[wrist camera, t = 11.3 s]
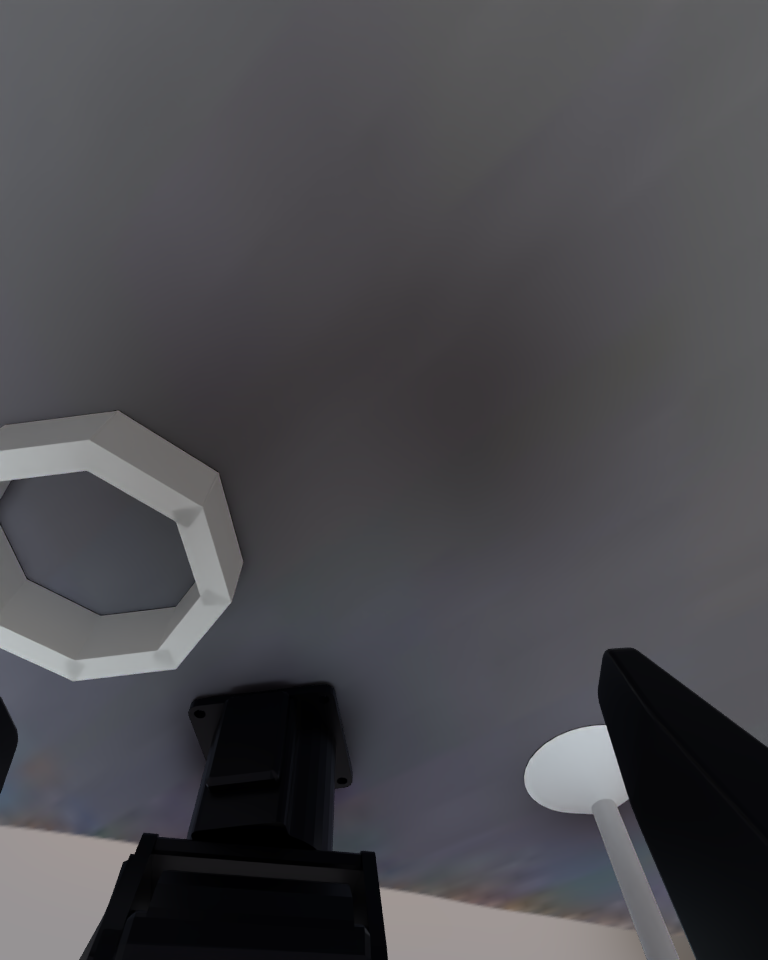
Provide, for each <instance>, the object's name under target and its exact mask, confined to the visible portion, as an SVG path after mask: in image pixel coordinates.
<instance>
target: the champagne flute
mask: <svg viewBox="0 0 768 960" xmlns="http://www.w3.org/2000/svg"><path fill="white" fill-rule="evenodd" d="M524 782H525V787H526V789H527V791H528V793H529V795H530V796H531V797H532V798H533V799H534V800H535V801H536V802H538V803H539V804H540V805H542V806H544V807H547V808H549V809H551V810H555V811H559V812H566V813H578V814H593V815H594V817H595V820H596V823H597V826H598V828H599V831H600V834H601V836H602V839H603V842H604V845H605V847H606V850H607V853H608V855H609V858H610V861H611V864H612V866H613V869H614V872H615V874H616V877H617V880H618V883H619V885H620V888H621V891H622V893H623V896H624V899H625V902H626V904H627V907H628V910H629V912H630V915H631V918H632V921H633V923H634V926H635V929H636V931H637V934H638V937H639V939H640V942H641V945H642V948H643V950H644V953H645V956H646V958H647V960H680V959H679V957H678V954H677V952H676V949H675V947H674V944H673V942H672V939H671V937H670V934H669V932H668V930H667V927H666V925H665V922H664V920H663V917H662V915H661V913H660V910H659V908H658V905H657V903H656V900H655V898H654V896H653V893H652V891H651V888H650V886H649V883H648V881H647V878H646V876H645V874H644V871H643V869H642V866H641V864H640V861H639V859H638V857H637V854H636V852H635V849H634V847H633V844H632V842H631V839H630V837H629V835H628V832H627V830H626V827H625V825H624V822H623V820H622V818H621V815H620V813H619V810H618V808H617V807H618V806H620V805H621V804H623V803H624V802H625V801H627V800H628V799H629V798H628V795H627V792H626V789H625V785H624V782H623V779H622V776H621V772H620V769H619V766H618V763H617V759H616V756H615V753H614V750H613V746H612V743H611V740H610V737H609V733H608V730H607V727H606V725H595V726H589V727H582V728H579V729H575V730H572V731H568V732H566V733H564V734H562V735H559V736H557V737H555V738H554V739H552V740H551V741H549V742H547V743H546V744H545V745H543V746H542V747H541V748H540V749H539V750H538V751H537V752H536V753H535V754H534V755H533V757H532V758H531V759H530V761H529V763H528V765H527V767H526V770H525V775H524Z"/></svg>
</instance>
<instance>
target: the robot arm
mask: <svg viewBox="0 0 768 960" xmlns="http://www.w3.org/2000/svg"><path fill="white" fill-rule="evenodd" d="M322 695H323V696H326V697H322ZM598 699H599V704H600V707H601V711H602V714H603V717H604V720H605V724H606V727H607V730H608V733H609V737H610V740H611V743H612V746H613V750H614V753H615V756H616V759H617V763H618V766H619V769H620V772H621V776H622V779H623V782H624V785H625V789H626V792H627V795H628V798H629V801H630V804H631V807H632V809H633V812H634V814H635V817H636V819H637V822H638V824H639V827H640V829H641V831H642V834H643V836H644V838H645V841H646V843H647V845H648V848H649V850H650V853H651V855H652V857H653V860H654V862H655V864H656V867H657V869H658V871H659V874H660V876H661V878H662V881H663V883H664V885H665V888H666V890H667V892H668V895H669V897H670V899H671V902H672V904H673V907H674V909H675V911H676V914H677V916H678V918H679V921H680V923H681V925H682V928H683V930H684V932H685V935H686V937H687V939H688V942H689V944H690V946H691V949H692V951H693V954H694V956H695V958H696V960H768V747H767V746H765V745H764V744H762V743H761V742H760V741H758V740H757V739H756V738H754V737H753V736H752V735H750V734H749V733H748V732H746V731H745V730H744V729H742V728H741V727H740V726H738V725H737V724H736V723H734V722H733V721H732V720H730V719H729V718H728V717H726V716H725V715H724V714H722V713H721V712H720V711H718V710H717V709H716V708H714V707H713V706H711V705H710V704H709V703H707V702H706V701H705V700H703V699H702V698H701V697H699V696H698V695H697V694H695V693H694V692H693V691H691V690H690V689H689V688H687V687H686V686H685V685H683V684H682V683H681V682H679V681H678V680H677V679H675V678H674V677H673V676H671V675H670V674H669V673H667V672H666V671H665V670H663V669H662V668H660V667H659V666H658V665H656V664H655V663H654V662H652V661H651V660H650V659H648V658H647V657H646V656H644V655H643V654H642V653H640V652H639V651H638V650H636V649H634V648H614V649H608V650H606V651H605V652H604V654H603V658H602V665H601V671H600V678H599V685H598ZM200 710H202V711H200ZM188 713H189V718H190V720H191V723H192V725H193V728H194V731H195V733H196V736H197V738H198V741H199V744H200V746H201V749H202V751H203V754H204V757H205V759H206V765H205V769H204V773H203V777H202V780H201V784H200V788H199V792H198V796H197V800H196V804H195V808H194V812H193V815H192V819H191V823H190V827H189V831H188V835H187V839H178V838H166V837H159V834H151V833H143V835H142V837H141V840H140V842H139V845H138V847H137V849H136V852H135V854H130V856H129V859H128V860H127V861H125V862H123V864H122V867H121V870H120V873H119V876H118V879H117V882H116V885H115V888H114V891H113V894H112V896H111V899H110V902H109V905H108V907H107V909H106V912H105V914H104V916H103V918H102V920H101V922H100V923H99V925H98V927H97V929H96V931H95V932H94V934H93V936H92V938H91V939H90V941H89V943H88V945H87V947H86V948H85V950H84V952H83V954H82V956H81V957H80V959H79V960H388V956H387V945H386V937H385V931H384V922H383V914H382V905H381V897H380V889H379V881H378V873H377V865H376V856H375V852H369V851H361V852H360V853H348V852H336V851H332V847H333V820H334V793H335V789H336V788H344V787H348V786H349V785H351V783H352V776H353V772H352V768H351V763H350V758H349V754H348V749H347V744H346V740H345V735H344V731H343V726H342V721H341V717H340V712H339V708H338V703H337V698H336V694H335V690H334V688H332V687H331V686H329V685H314V686H305V687H297V688H288V689H280V690H271V691H263V692H254V693H246V694H237V695H229V696H220V697H212V698H203V699H197V700H194V701H193V702H192V703H191V706H190V709H189V712H188ZM17 742H18V733H17V729H16V726H15V724H14V722H13V720H12V718H11V716H10V714H9V712H8V710H7V708H6V706H5V704H4V702H3V700H2V698H1V697H0V793H1V790H2V788H3V785H4V782H5V779H6V776H7V773H8V770H9V768H10V765H11V762H12V759H13V756H14V753H15V750H16V747H17Z"/></svg>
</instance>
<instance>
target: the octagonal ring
mask: <svg viewBox="0 0 768 960" xmlns="http://www.w3.org/2000/svg"><path fill="white" fill-rule="evenodd" d="M80 471H89V472H90V473H92V474H94V475H96V476H97V477H99V478H101V479H103V480H104V481H106V482H108V483H109V484H111V485H113V486H115V487H116V488H118V489H120V490H122V491H123V492H125V493H127V494H129V495H130V496H132V497H134V498H136V499H137V500H139V501H141V502H143V503H144V504H146V505H148V506H149V507H151V508H153V509H155V510H156V511H158V512H160V513H162V514H163V515H165V516H167V517H169V518H170V519H172V520H174V521H176V523H177V526H178V529H179V533H180V536H181V539H182V542H183V545H184V548H185V551H186V554H187V557H188V560H189V563H190V566H191V569H192V572H193V575H194V578H195V581H196V582H195V583H194V584H193V585H192V587H191V588H190V589H189V590H188V592H187V593H186V594H185V596H184V597H183V598H182V599H181V601H180V602H179V603H178V604H177V606H176V607H170V608H162V609H154V610H146V611H137V612H129V613H121V614H112V615H104V616H100V615H98V614H96V613H94V612H92V611H90V610H88V609H86V608H84V607H82V606H80V605H78V604H76V603H74V602H72V601H70V600H68V599H66V598H64V597H62V596H60V595H58V594H56V593H54V592H52V591H50V590H48V589H46V588H44V587H42V586H40V585H38V584H36V583H34V582H32V581H30V580H28V579H26V577H25V575H24V572H23V570H22V568H21V566H20V564H19V562H18V560H17V558H16V556H15V554H14V552H13V550H12V548H11V546H10V544H9V542H8V540H7V538H6V536H5V534H4V532H3V529H2V527H1V525H0V648H1V649H4V650H6V651H8V652H10V653H12V654H15V655H17V656H19V657H21V658H23V659H26V660H28V661H30V662H32V663H34V664H37V665H39V666H41V667H43V668H45V669H48V670H50V671H52V672H54V673H56V674H59V675H61V676H63V677H65V678H67V679H70V680H72V681H80V680H88V679H97V678H105V677H114V676H122V675H130V674H139V673H147V672H156V671H164V670H173V669H175V670H176V669H177V667H178V666H179V665H180V664H181V662H182V661H183V660H184V659H185V657H186V656H187V655H188V654H189V653H190V651H191V650H192V649H193V648H194V647H195V645H196V644H197V643H198V642H199V641H200V639H201V638H202V637H203V636H204V635H205V633H206V632H207V631H208V630H209V629H210V627H211V626H212V625H213V624H214V623H215V621H216V620H217V619H218V618H219V617H220V615H221V614H222V613H223V612H224V611H225V609H226V608H227V607H228V606H229V605H230V603H232V600H233V596H234V593H235V589H236V586H237V583H238V579H239V576H240V572H241V569H242V566H243V562H244V561H243V559H242V555H241V552H240V548H239V544H238V541H237V537H236V534H235V530H234V526H233V523H232V519H231V516H230V512H229V508H228V505H227V501H226V497H225V494H224V490H223V487H222V483H221V479H220V476H219V472H217V471H215V470H213V469H212V468H210V467H208V466H207V465H205V464H204V463H202V462H200V461H199V460H197V459H196V458H194V457H192V456H191V455H189V454H187V453H186V452H184V451H183V450H181V449H179V448H178V447H176V446H175V445H173V444H171V443H170V442H168V441H166V440H165V439H163V438H162V437H160V436H158V435H157V434H155V433H154V432H152V431H150V430H149V429H147V428H145V427H144V426H142V425H141V424H139V423H137V422H136V421H134V420H133V419H131V418H129V417H128V416H126V415H125V414H123V413H121V412H120V411H118V410H117V411H112V412H104V413H96V414H88V415H80V416H73V417H65V418H57V419H49V420H41V421H33V422H25V423H17V424H10V425H4V426H3V427H1V428H0V499H1V497H2V496H3V494H4V492H5V490H6V489H7V487H8V485H9V483H10V482H11V480H16V479H24V478H32V477H40V476H48V475H56V474H64V473H72V472H80Z"/></svg>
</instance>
